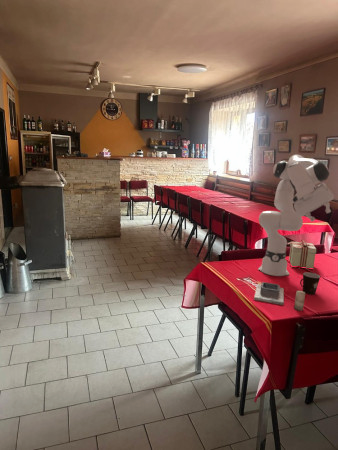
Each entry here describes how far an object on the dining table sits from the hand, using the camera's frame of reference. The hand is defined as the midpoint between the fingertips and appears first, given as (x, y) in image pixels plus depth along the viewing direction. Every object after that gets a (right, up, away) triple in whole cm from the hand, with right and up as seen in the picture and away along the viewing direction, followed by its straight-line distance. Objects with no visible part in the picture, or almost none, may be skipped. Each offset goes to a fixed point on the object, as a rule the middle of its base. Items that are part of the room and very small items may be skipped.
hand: (321, 216), depth 161 cm
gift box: (+16, -32, +69) cm, 77 cm away
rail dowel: (-11, -44, 0) cm, 46 cm away
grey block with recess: (-21, -41, +14) cm, 48 cm away
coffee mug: (+2, -41, +21) cm, 46 cm away
